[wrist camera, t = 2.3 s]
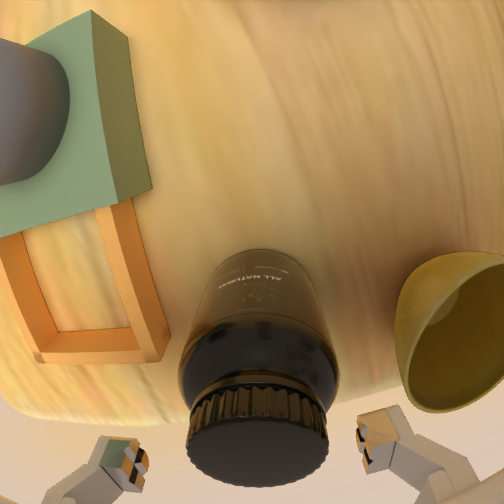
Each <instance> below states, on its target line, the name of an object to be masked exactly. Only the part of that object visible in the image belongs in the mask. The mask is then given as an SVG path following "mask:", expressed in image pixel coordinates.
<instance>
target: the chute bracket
mask: <svg viewBox="0 0 504 504" xmlns="http://www.w3.org/2000/svg"><path fill="white" fill-rule="evenodd" d="M94 210H95V214H96V218H97V221H98V225H99V229H100V233H101V236H102V240H103V243H104V247H105V250H106V254H107V257H108V260H109V263H110V267H111V270H112V273H113V276H114V279H115V282H116V285H117V288H118V291H119V294H120V297H121V300H122V302H123V305H124V308H125V311H126V313H127V316H128V319H129V321H130V324H131V327H129V328H118V329H105V330H91V331H75V332H58V331H57V329H56V327H55V324H54V322H53V320H52V317H51V315H50V313H49V310H48V308H47V305H46V303H45V301H44V298H43V295H42V293H41V290H40V288H39V285H38V282H37V279H36V277H35V274H34V271H33V268H32V265H31V262H30V259H29V256H28V253H27V250H26V246H25V243H24V240H23V236H22V233H21V231H20V232H17V233H14V234H11V235H8V236H5V237H2V238H0V281H1V284H2V287H3V289H4V292H5V295H6V297H7V300H8V302H9V305H10V307H11V309H12V312H13V314H14V316H15V319H16V321H17V323H18V325H19V327H20V329H21V332H22V334H23V336H24V338H25V340H26V342H27V344H28V346H29V348H30V350H31V352H32V354H33V356H34V358H35V359H36V361H37V363H48V364H125V363H149V362H161V359H162V357H163V354H164V352H165V349H166V347H167V344H168V342H169V340H170V337H171V334H170V332H169V329H168V326H167V323H166V320H165V317H164V314H163V311H162V308H161V305H160V301H159V298H158V295H157V292H156V289H155V285H154V282H153V279H152V275H151V272H150V269H149V265H148V262H147V258H146V255H145V251H144V247H143V244H142V240H141V236H140V232H139V228H138V224H137V220H136V216H135V212H134V208H133V204H132V200H131V198H129V199H127V200H124V201H122V202H120V203H117V204H113V205H109V206H106V207H102V208H98V209H94Z"/></svg>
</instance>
